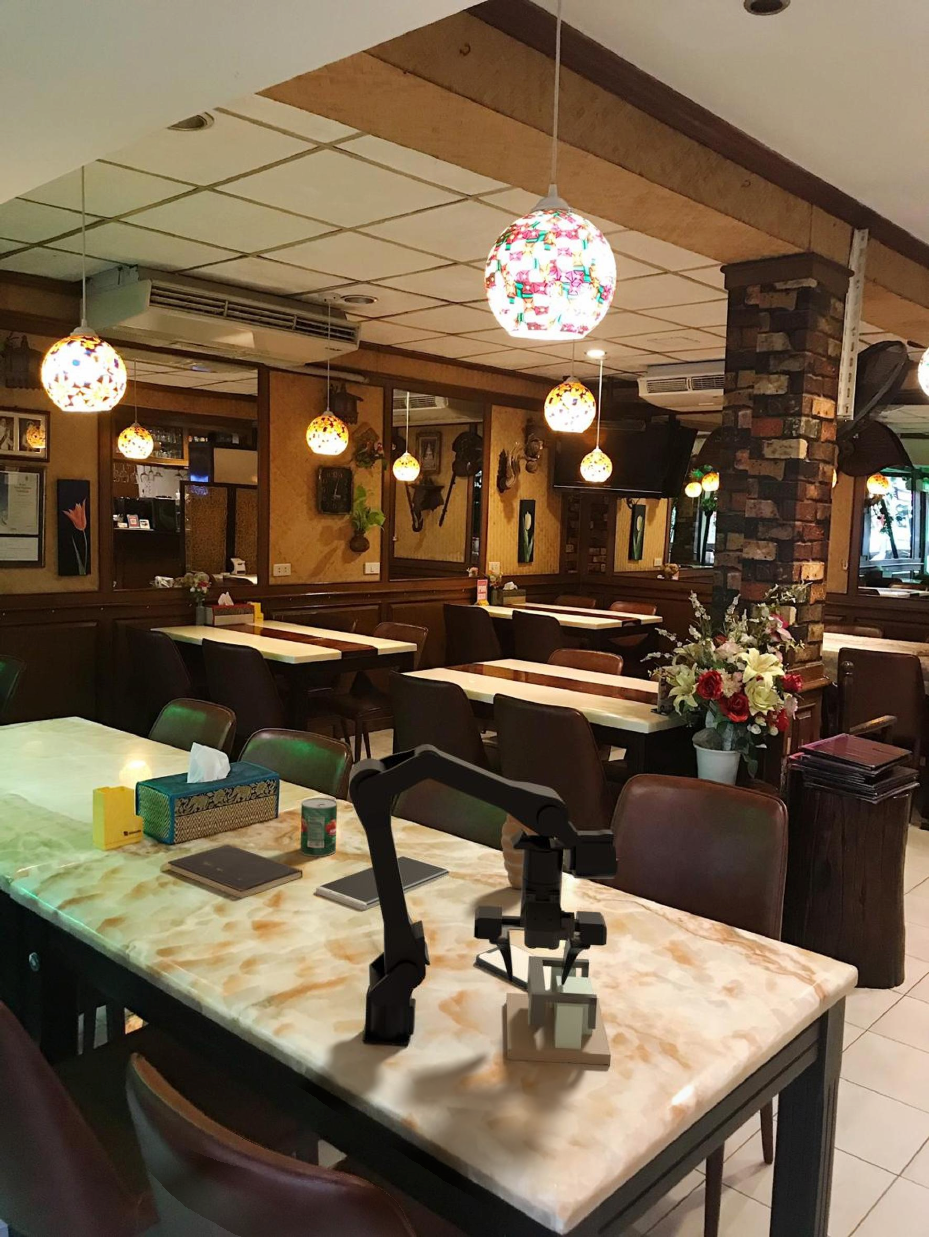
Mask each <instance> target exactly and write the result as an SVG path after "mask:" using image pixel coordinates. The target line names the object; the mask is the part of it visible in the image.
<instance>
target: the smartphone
mask: <svg viewBox="0 0 929 1237" xmlns="http://www.w3.org/2000/svg"><path fill="white" fill-rule="evenodd" d="M397 858H398V863H399V869H400V874H401V879H402V884H403V889H404V894H407V893H410V892H412V891H414V890H417V889H419V888H421V886H422V887H424V886H427V885H428V883H429V884H431V883H433V882H435V881H434V880H436V881H437V879H438V880H440V879H439V878H441V877H443V878H445V877H447V876H446V875H448V876H449V874H451V870H450V869H448V868H445V867H443V866H439V865H436V864H432V863H429V862H426V861H423V860H419V859H416V858H412V857H409V856H406V855H403V856H400V857H397ZM444 876H445V877H444ZM441 879H442V878H441ZM416 888H417V889H416ZM413 889H414V890H413ZM411 890H412V891H411ZM409 891H410V892H409ZM315 893H316V894H317V895H319V896H321V895H322V896H321V897H324V896H325V898H327V899H330V900H333V901H335V900H336V902H338V903H342V904H343V905H347V906H349V907H352V908H354V909H358V910H360V911H366V910H368V909H371V908H374V907H376V906H378V905H379V906H380V902H379V897H378V892H377V887H376V882H375V877H374V872H373V867H372V866H371V867H368V868H366V869H363V870H361V871H357V872H355V873H353V874H350V875H347V876H344V877H342V878H341V877H340V878H339V879H336V880H332V881H330V882H327V883H325V884H321V885H320V886H317V887H316V889H315Z"/></svg>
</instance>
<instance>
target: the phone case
mask: <svg viewBox="0 0 929 1237" xmlns="http://www.w3.org/2000/svg"><path fill="white" fill-rule="evenodd" d="M511 955H512V967H513V979H512V982H511V983H512V984H514V985H516V986H518V987H520V988H523V989H524V990H526V991H528V988H527V980H528V959H529V956H536V955H535V954H533V953H530V952H528V951H527V950H525V949H523V948H521V947H519V946H516V945H514V944H511ZM475 965H477V966H479V967H480V968H482V967H483V968H482V969H484V970H486V969H487V971H488V972H491V973H492V974H494V975H496V976H498V977H500V978H502V979H504V980H507V981H508V982H509V978H508V974H507V971H506V967H505V964H504V960H503V957H502V955H501V952H500V950H499V948H498V947H497V946H496V947H494V948H491V949H489V950H486V951H483V952H481V953H478V954H477V955H476V957H475ZM543 971H544V980H545V989H546V992H550V979H551V967H549V966H543Z"/></svg>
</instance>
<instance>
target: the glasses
mask: <svg viewBox="0 0 929 1237" xmlns="http://www.w3.org/2000/svg"><path fill="white" fill-rule="evenodd" d="M562 962H563V957H556V956H555V957H554V956H537V955H535V956H529V959H528V980H527V988H528V990H527V994H528V998H529V1000H530V1003H529V1017H530V1026H545V1008H546V1002H553V1003H572V1004H589V1005H588V1023H587V1026H588V1029H595V1027H596V1009H597V998H598V996H597V994H595V993H594V994H579V993H561V992H546V989H545V980H544V971H543V966H549V967H562ZM572 968H576V969H581V971H580V977H586V978H589V972H590V971H589V970H590V960H589V959H588V958H576V959H575V961H574V963H573V965H572Z"/></svg>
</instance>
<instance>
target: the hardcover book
mask: <svg viewBox="0 0 929 1237" xmlns="http://www.w3.org/2000/svg"><path fill="white" fill-rule="evenodd" d="M167 864H169V865H170V867H169V870H170V871H172V872H174V873H178V874H180V875H182V876H185V877H187V878H190V879H192V880H194V879H195V881H197V880H198V881H197V882H199V881H200V882H199V883H203V884H205V885H207V886H210V887H212V888H215V889H217V890H219V889H220V890H219V891H222V892H224V891H225V892H224V893H227V894H229V895H232V896H234V897H237V898H239V899H245V898H247V897H250V896H253V895H255V894H258V893H261V892H264V891H267V890H270V889H272V888H276V887H278V886H281V885H284V884H286V883H290V882H292V881H291V880H293V881H295V880H298V879H301V878H300V877H302V878H303V875H304V874H303V870H302V869H299V868H296V867H294V866H290V865H288V864H286V863H283V862H279V861H277V860H274V859H271V858H268V857H265V856H262V855H259V854H257V853H253V852H252V851H248V850H246V849H243V848H239V847H237V846H234V845H231V844H225V845H224V844H223V845H221V846H218V847H217V846H216V847H213V848H211V849H207V850H204V851H201V852H197V853H193V854H191V855H187V856H184V857H180V858H177V859H172V860H170V861H168V862H167ZM297 878H298V879H297ZM294 879H295V880H294ZM289 881H290V882H289ZM275 886H276V887H275Z"/></svg>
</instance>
